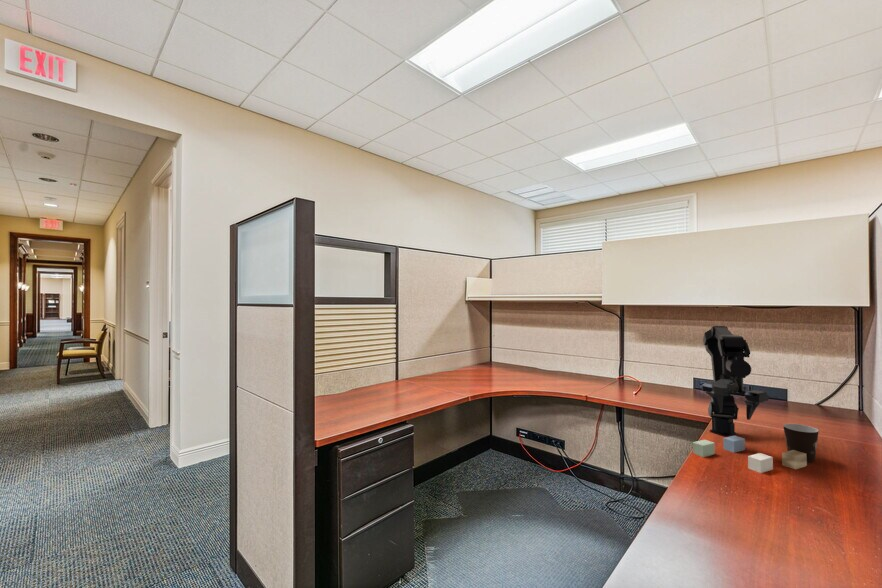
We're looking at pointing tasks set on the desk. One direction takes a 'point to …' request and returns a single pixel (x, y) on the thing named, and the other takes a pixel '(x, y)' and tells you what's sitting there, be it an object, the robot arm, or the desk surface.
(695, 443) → the sage block
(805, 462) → the maple block
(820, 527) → the desk surface
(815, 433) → the coffee mug
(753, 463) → the cream block
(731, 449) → the blue block
